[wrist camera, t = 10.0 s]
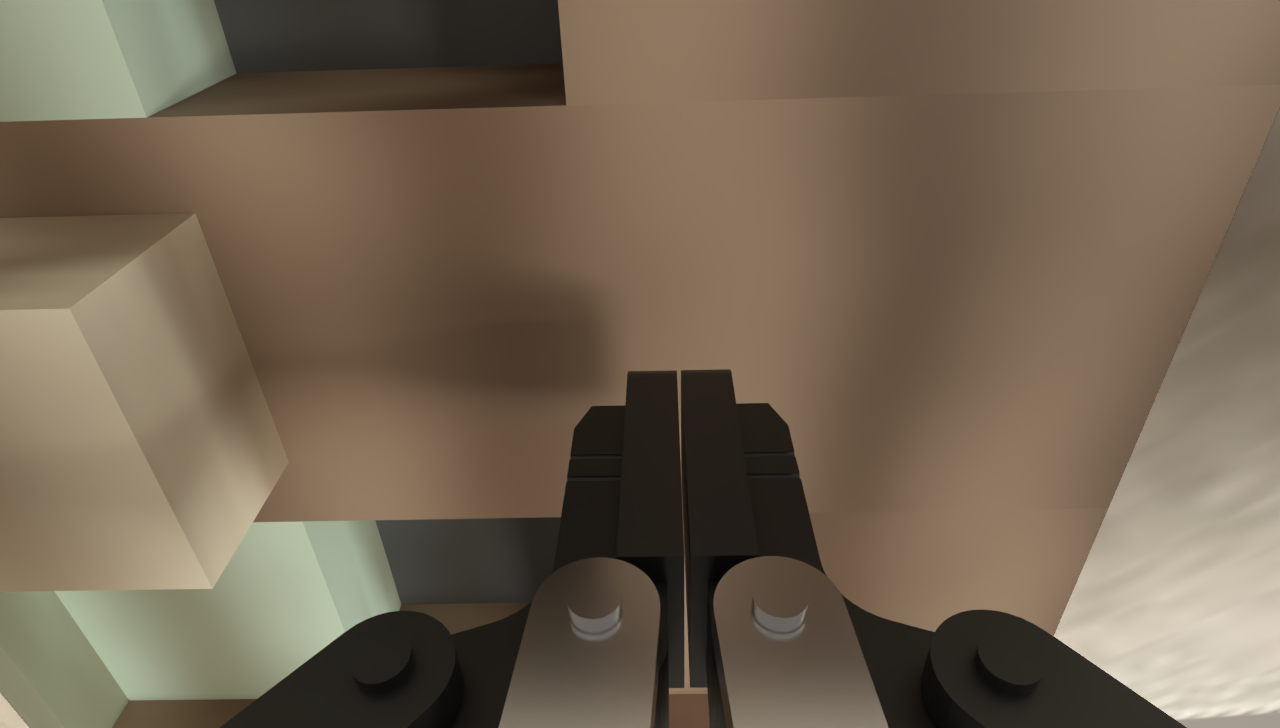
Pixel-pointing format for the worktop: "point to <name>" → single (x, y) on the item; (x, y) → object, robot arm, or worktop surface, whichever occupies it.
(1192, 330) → the worktop surface
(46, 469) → the maple block
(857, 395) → the trap box
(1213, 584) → the worktop surface
